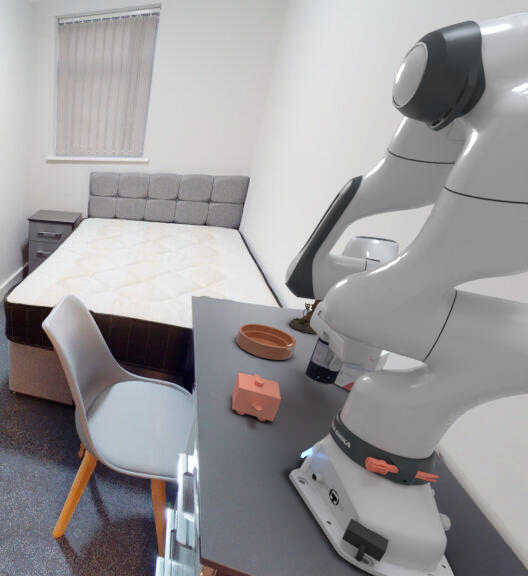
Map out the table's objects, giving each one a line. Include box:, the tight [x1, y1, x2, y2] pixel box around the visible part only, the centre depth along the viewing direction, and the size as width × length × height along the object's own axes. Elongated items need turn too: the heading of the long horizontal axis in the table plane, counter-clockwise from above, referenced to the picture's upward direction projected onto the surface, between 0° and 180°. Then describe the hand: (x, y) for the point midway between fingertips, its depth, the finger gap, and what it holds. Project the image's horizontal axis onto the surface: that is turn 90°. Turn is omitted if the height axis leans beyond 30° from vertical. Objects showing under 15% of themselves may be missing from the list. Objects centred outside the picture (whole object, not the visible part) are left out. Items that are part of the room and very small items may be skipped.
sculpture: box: [288, 299, 323, 335], centre depth 117 cm, size 8×14×25 cm, turn 126°
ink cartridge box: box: [334, 348, 391, 392], centre depth 91 cm, size 9×5×15 cm, turn 25°
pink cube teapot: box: [231, 371, 282, 422], centre depth 83 cm, size 8×12×8 cm, turn 152°
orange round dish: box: [235, 323, 297, 361], centre depth 109 cm, size 14×14×4 cm
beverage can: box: [304, 332, 342, 386], centre depth 86 cm, size 6×6×12 cm
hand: (326, 361), depth 87 cm, fingers closed on beverage can, 5 cm apart
